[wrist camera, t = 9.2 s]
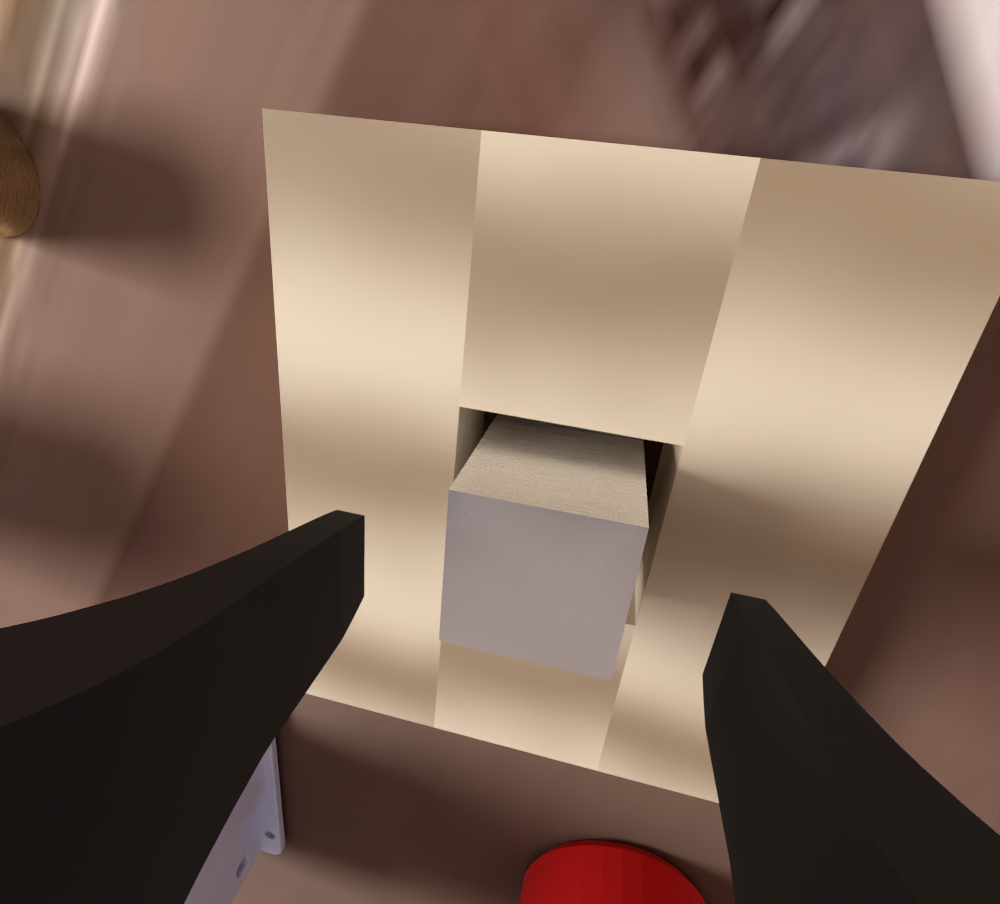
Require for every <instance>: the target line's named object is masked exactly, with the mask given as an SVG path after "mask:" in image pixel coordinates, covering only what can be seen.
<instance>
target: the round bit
mask: <svg viewBox="0 0 1000 904" xmlns="http://www.w3.org/2000/svg"><path fill="white" fill-rule="evenodd" d="M39 204H40V188H39V181H38V176H37V172H36V169H35V166H34V163H33V160H32V158H31V156H30V154H29V151H28V149H27V148H26V146H25V144H24V142H23V141H22V139H21V138H20V136H19V135H18V133H17V132H16V131H15V130H14V128H13V127H12V126H11V125H10V124H9V123H8V122H7V121H6V120H5V119H4V118H3V117H2V116H1V115H0V238H2V237H15V236H18V235H20V234H22V233H24V232H26V231H27V230H28V229H29V228H30V227H31V225H32V224H33V223H34V221H35V219H36V216H37V213H38V210H39Z"/></svg>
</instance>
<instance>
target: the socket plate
mask: <svg viewBox="0 0 1000 904" xmlns="http://www.w3.org/2000/svg"><path fill="white" fill-rule="evenodd" d="M262 116H263V132H264V148H265V163H266V179H267V195H268V211H269V226H270V242H271V258H272V274H273V289H274V305H275V321H276V337H277V352H278V368H279V384H280V400H281V416H282V431H283V447H284V463H285V479H286V494H287V510H288V526H289V531H290V530H292V529H295V528H297V527H299V526H301V525H303V524H305V523H307V522H309V521H312V520H314V519H316V518H318V517H320V516H323V515H325V514H327V513H330V512H332V511H335V510H341V511H345V512H350V513H355V514H360V515H365V556H364V598H363V600H362V602H361V604H360V606H359V608H358V610H357V612H356V614H355V616H354V618H353V620H352V622H351V624H350V626H349V628H348V630H347V631H346V633H345V635H344V637H343V639H342V640H341V642H340V643H339V645H338V646H337V648H336V649H335V651H334V652H333V654H332V655H331V657H330V658H329V660H328V661H327V663H326V664H325V666H324V667H323V669H322V670H321V671H320V673H319V674H318V676H317V677H316V679H315V680H314V682H313V683H312V684H311V686H310V687H309V689H308V690H307V692H306V693H307V694H310V695H314V696H318V697H322V698H325V699H329V700H333V701H337V702H340V703H344V704H348V705H352V706H356V707H359V708H363V709H367V710H371V711H374V712H378V713H382V714H386V715H389V716H393V717H397V718H401V719H404V720H408V721H412V722H416V723H419V724H423V725H427V726H431V727H435V728H438V729H442V730H446V731H450V732H453V733H457V734H461V735H465V736H468V737H472V738H476V739H480V740H483V741H487V742H491V743H495V744H498V745H502V746H506V747H510V748H514V749H517V750H521V751H525V752H529V753H532V754H536V755H540V756H544V757H547V758H551V759H555V760H559V761H562V762H566V763H570V764H574V765H577V766H581V767H585V768H589V769H593V770H596V771H600V772H604V773H608V774H611V775H615V776H619V777H623V778H626V779H630V780H634V781H638V782H641V783H645V784H649V785H653V786H656V787H660V788H664V789H668V790H671V791H675V792H679V793H683V794H687V795H690V796H694V797H698V798H702V799H705V800H709V801H713V802H717V803H719V800H718V795H717V790H716V784H715V779H714V774H713V768H712V763H711V757H710V752H709V746H708V741H707V735H706V729H705V716H704V701H703V678H702V674H703V671H704V668H705V666H706V663H707V660H708V657H709V654H710V651H711V648H712V645H713V643H714V640H715V637H716V634H717V631H718V628H719V625H720V622H721V620H722V617H723V614H724V611H725V608H726V605H727V602H728V599H729V597H730V594H731V592H732V593H737V594H741V595H746V596H751V597H756V598H760V599H765V600H766V601H767V602H768V603H769V604H770V605H771V606H772V607H773V608H774V609H775V610H776V611H777V612H778V614H779V615H780V616H781V617H782V618H783V619H784V620H785V622H786V623H787V624H788V625H789V626H790V627H791V629H792V630H793V631H794V632H795V633H796V634H797V636H798V637H799V638H800V639H801V640H802V641H803V643H804V644H805V645H806V646H807V647H808V648H809V649H810V651H811V652H812V653H813V654H814V655H815V656H816V658H817V659H818V660H819V661H820V662H821V663H822V664H823V665H824V667H825V666H826V664H827V662H828V659H829V657H830V655H831V653H832V651H833V649H834V647H835V645H836V642H837V640H838V638H839V636H840V634H841V632H842V630H843V628H844V625H845V623H846V621H847V619H848V617H849V615H850V613H851V611H852V608H853V606H854V604H855V602H856V600H857V598H858V596H859V594H860V591H861V589H862V587H863V585H864V583H865V581H866V579H867V577H868V574H869V572H870V570H871V568H872V566H873V564H874V562H875V560H876V557H877V555H878V553H879V551H880V549H881V547H882V545H883V543H884V540H885V538H886V536H887V534H888V532H889V530H890V528H891V526H892V523H893V521H894V519H895V517H896V515H897V513H898V511H899V509H900V506H901V504H902V502H903V500H904V498H905V496H906V494H907V492H908V490H909V487H910V485H911V483H912V481H913V479H914V477H915V475H916V473H917V470H918V468H919V466H920V464H921V462H922V460H923V458H924V456H925V453H926V451H927V449H928V447H929V445H930V443H931V441H932V439H933V436H934V434H935V432H936V430H937V428H938V426H939V424H940V422H941V419H942V417H943V415H944V413H945V411H946V409H947V407H948V405H949V402H950V400H951V398H952V396H953V394H954V392H955V390H956V388H957V385H958V383H959V381H960V379H961V377H962V375H963V373H964V371H965V368H966V366H967V364H968V362H969V360H970V358H971V356H972V354H973V351H974V349H975V347H976V345H977V343H978V341H979V339H980V337H981V334H982V332H983V330H984V328H985V326H986V324H987V322H988V320H989V317H990V315H991V313H992V311H993V309H994V307H995V305H996V303H997V300H998V298H999V296H1000V182H996V181H986V180H976V179H966V178H956V177H945V176H935V175H925V174H915V173H905V172H895V171H885V170H875V169H865V168H855V167H845V166H835V165H825V164H815V163H805V162H795V161H784V160H774V159H764V158H754V157H744V156H734V155H724V154H714V153H704V152H694V151H684V150H674V149H664V148H654V147H644V146H634V145H624V144H613V143H603V142H593V141H583V140H573V139H563V138H553V137H543V136H533V135H523V134H513V133H503V132H493V131H483V130H473V129H463V128H453V127H442V126H432V125H422V124H412V123H402V122H392V121H382V120H372V119H362V118H352V117H342V116H332V115H322V114H312V113H302V112H292V111H281V110H271V109H262ZM485 411H487V412H493V413H499V414H504V415H510V416H516V417H521V418H527V419H533V420H539V421H544V422H550V423H556V424H561V425H567V426H573V427H578V428H584V429H590V430H595V431H601V432H607V433H612V434H618V435H624V436H629V437H635V438H641V439H647V440H652V441H658V442H664V443H663V447H662V451H661V455H660V459H659V463H658V467H657V471H656V475H655V479H654V483H653V487H652V491H651V495H650V499H649V503H648V520H649V530H648V534H647V538H646V542H645V546H644V550H643V554H642V558H641V563H640V567H639V571H638V575H637V579H636V583H635V587H634V591H633V595H632V599H631V603H630V607H629V611H628V615H627V620H626V624H625V628H624V632H623V636H622V640H621V644H620V648H619V652H618V656H617V660H616V664H615V668H614V672H613V677H612V681H611V680H606V679H602V678H598V677H594V676H589V675H585V674H581V673H576V672H572V671H568V670H564V669H559V668H555V667H551V666H547V665H542V664H538V663H534V662H529V661H525V660H521V659H517V658H512V657H508V656H504V655H499V654H495V653H491V652H487V651H482V650H478V649H474V648H469V647H465V646H461V645H457V644H452V643H448V642H444V641H439V630H440V615H441V600H442V585H443V569H444V554H445V539H446V524H447V508H448V493H449V489H450V487H451V485H452V484H453V482H454V481H455V479H456V478H457V476H458V475H459V473H460V471H461V470H462V468H463V467H464V465H465V464H466V462H467V460H468V459H469V457H470V456H471V454H472V453H473V451H474V450H475V448H476V446H477V445H478V443H479V442H480V440H481V439H482V437H483V429H484V419H485Z"/></svg>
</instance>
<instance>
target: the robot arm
mask: <svg viewBox="0 0 1000 904" xmlns="http://www.w3.org/2000/svg"><path fill="white" fill-rule="evenodd" d="M364 556H365V515H360V514H355V513H350V512H345V511H341V510H335V511H332V512H330V513H327V514H325V515H323V516H320V517H318V518H316V519H314V520H312V521H309V522H307V523H305V524H303V525H301V526H299V527H297V528H295V529H292V530H290V531H288V532H286V533H284V534H282V535H280V536H278V537H275V538H273V539H271V540H269V541H267V542H265V543H262V544H260V545H258V546H256V547H254V548H252V549H250V550H247V551H245V552H243V553H240V554H238V555H236V556H233V557H231V558H228V559H226V560H224V561H221V562H219V563H216V564H214V565H212V566H209V567H207V568H205V569H202V570H200V571H197V572H195V573H192V574H190V575H187V576H185V577H182V578H179V579H176V580H174V581H171V582H168V583H165V584H163V585H160V586H157V587H154V588H151V589H148V590H145V591H142V592H139V593H136V594H133V595H129V596H126V597H123V598H120V599H116V600H112V601H109V602H105V603H101V604H98V605H94V606H90V607H87V608H83V609H79V610H76V611H72V612H68V613H65V614H61V615H57V616H54V617H49V618H45V619H41V620H37V621H32V622H28V623H23V624H19V625H14V626H10V627H5V628H0V904H231V902H232V900H233V898H234V897H235V895H236V893H237V891H238V890H239V888H240V886H241V884H242V883H243V881H244V879H245V877H246V876H247V874H248V872H249V871H250V869H251V867H252V865H253V864H254V862H255V860H256V858H257V857H258V855H259V853H260V851H264V852H267V853H270V854H274V855H277V854H280V853H281V852H282V850H283V848H284V847H285V835H284V824H283V813H282V803H281V792H280V781H279V770H278V759H277V748H276V738H275V737H276V735H277V733H278V732H279V731H280V729H281V728H282V726H283V725H284V723H285V722H286V720H287V719H288V718H289V716H290V715H291V713H292V712H293V710H294V709H295V707H296V706H297V705H298V703H299V702H300V700H301V699H302V697H303V696H304V695H305V693H306V692H307V690H308V689H309V687H310V686H311V684H312V683H313V682H314V680H315V679H316V677H317V676H318V674H319V673H320V671H321V670H322V669H323V667H324V666H325V664H326V663H327V661H328V660H329V658H330V657H331V655H332V654H333V652H334V651H335V649H336V648H337V646H338V645H339V643H340V642H341V640H342V639H343V637H344V635H345V633H346V631H347V630H348V628H349V626H350V624H351V622H352V620H353V618H354V616H355V614H356V612H357V610H358V608H359V606H360V604H361V602H362V600H363V598H364ZM702 678H703V701H704V716H705V729H706V735H707V741H708V746H709V752H710V757H711V763H712V768H713V774H714V779H715V784H716V790H717V795H718V800H719V806H720V811H721V816H722V822H723V827H724V832H725V837H726V843H727V848H728V853H729V859H730V866H731V872H732V879H733V886H734V894H735V904H1000V835H998V834H997V833H996V832H995V831H994V830H993V829H991V828H990V827H989V826H988V825H987V824H985V823H984V822H983V821H982V820H981V819H980V818H978V817H977V816H976V815H975V814H974V813H972V812H971V811H970V810H969V809H968V808H967V807H966V806H964V805H963V804H962V803H961V802H960V801H959V800H958V799H957V798H956V797H954V796H953V795H952V794H951V793H950V792H949V791H948V790H947V789H946V788H944V787H943V786H942V785H941V784H940V783H939V782H938V781H937V780H936V779H934V778H933V777H932V776H931V775H930V774H929V773H928V772H927V771H926V770H925V769H923V768H922V767H921V766H920V765H919V764H918V763H917V762H916V761H915V760H914V759H913V758H912V757H911V756H910V755H909V754H908V753H907V752H905V751H904V750H903V749H902V748H901V747H900V746H899V745H898V744H897V743H896V742H895V741H894V740H893V739H892V738H891V737H890V736H889V735H888V734H887V733H886V732H885V731H884V730H883V729H882V728H881V727H880V726H879V724H878V723H877V722H876V721H875V720H874V719H873V718H872V717H871V716H870V715H869V714H868V713H867V712H866V711H865V710H864V709H863V708H862V707H861V706H860V705H859V704H858V703H857V702H856V701H855V700H854V699H853V697H852V696H851V695H850V694H849V693H848V692H847V691H846V690H845V689H844V688H843V687H842V686H841V684H840V683H839V682H838V681H837V680H836V679H835V678H834V677H833V676H832V674H831V673H830V672H829V671H828V670H827V669H826V668H825V667H824V665H823V664H822V663H821V662H820V661H819V660H818V659H817V658H816V656H815V655H814V654H813V653H812V652H811V651H810V649H809V648H808V647H807V646H806V645H805V644H804V643H803V641H802V640H801V639H800V638H799V637H798V636H797V634H796V633H795V632H794V631H793V630H792V629H791V627H790V626H789V625H788V624H787V623H786V622H785V620H784V619H783V618H782V617H781V616H780V615H779V614H778V612H777V611H776V610H775V609H774V608H773V607H772V606H771V605H770V604H769V603H768V602H767V601H766V600H765V599H760V598H756V597H751V596H746V595H741V594H737V593H732V592H731V594H730V597H729V599H728V602H727V605H726V608H725V611H724V614H723V617H722V620H721V622H720V625H719V628H718V631H717V634H716V637H715V640H714V643H713V645H712V648H711V651H710V654H709V657H708V660H707V663H706V666H705V668H704V671H703V674H702Z"/></svg>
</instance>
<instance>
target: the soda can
mask: <svg viewBox="0 0 1000 904" xmlns="http://www.w3.org/2000/svg"><path fill="white" fill-rule="evenodd" d="M519 904H706V903H705V901H704V899H703V897H702V896H701V894H700V893H699V892H698V891H697V889H696V888H695V887H694V886H693V885H692V883H691V882H690V881H689V880H688V879H687V878H686V877H685V875H684V874H683V873H682V872H680V871H679V870H678V869H677V868H675V867H674V866H673V865H672V864H670V863H669V862H667V861H665V860H664V859H662V858H660V857H659V856H657V855H655V854H653V853H650V852H648V851H645V850H643V849H641V848H638V847H634V846H631V845H628V844H624V843H620V842H613V841H607V840H579V841H571V842H567V843H564V844H560V845H557V846H555V847H553V848H551V849H549V850H548V851H546V852H545V853H544V854H543V855H542V856H540V857H539V858H538V859H537V860H536V861H535V862H533V863H532V864H531V865H530V867H529V868H528V870H527V872H526V873H525V875H524V880H523V885H522V891H521V897H520V903H519Z"/></svg>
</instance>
